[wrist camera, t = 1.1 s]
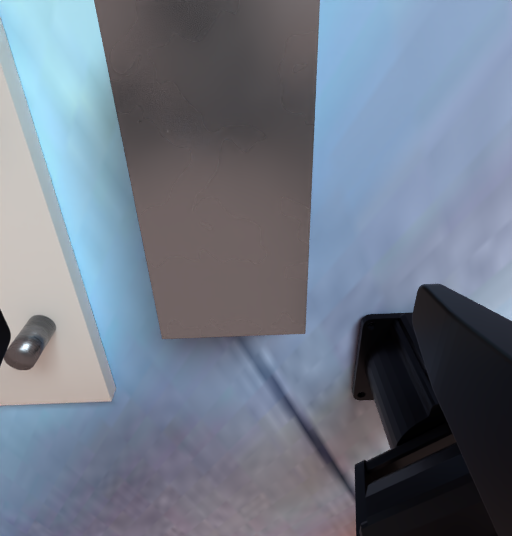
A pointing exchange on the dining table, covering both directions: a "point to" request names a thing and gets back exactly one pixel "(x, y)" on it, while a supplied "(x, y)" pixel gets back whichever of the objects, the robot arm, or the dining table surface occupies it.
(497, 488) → the robot arm
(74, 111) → the dining table surface
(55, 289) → the white peg board
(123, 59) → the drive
